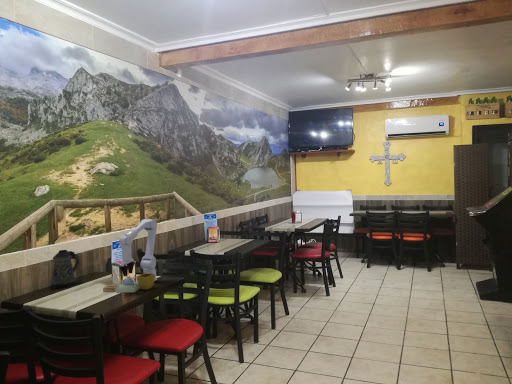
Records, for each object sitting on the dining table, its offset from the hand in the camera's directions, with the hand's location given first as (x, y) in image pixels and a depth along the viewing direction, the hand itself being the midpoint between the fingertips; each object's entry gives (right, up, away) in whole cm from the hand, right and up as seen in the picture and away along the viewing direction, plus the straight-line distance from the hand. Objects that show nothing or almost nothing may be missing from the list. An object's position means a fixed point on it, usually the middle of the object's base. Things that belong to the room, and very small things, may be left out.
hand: (128, 274), depth 258 cm
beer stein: (-53, -12, +24) cm, 59 cm away
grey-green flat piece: (+1, -10, 0) cm, 10 cm away
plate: (0, -9, 0) cm, 9 cm away
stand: (-11, -11, +2) cm, 16 cm away
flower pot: (+12, -10, +1) cm, 15 cm away
